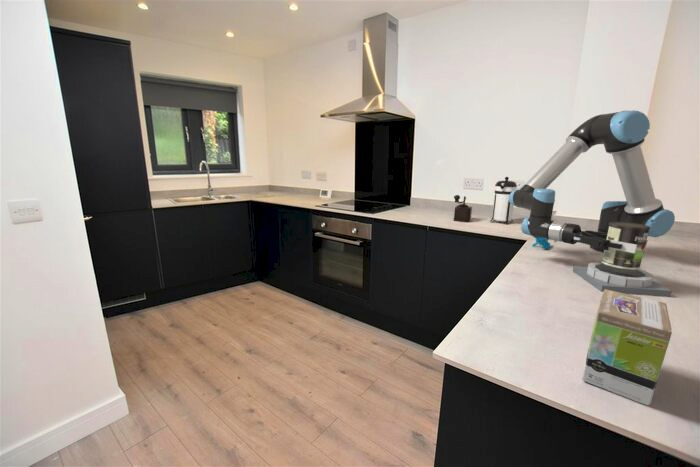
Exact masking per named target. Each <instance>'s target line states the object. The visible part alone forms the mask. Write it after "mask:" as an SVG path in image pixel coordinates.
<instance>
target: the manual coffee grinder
mask: <svg viewBox="0 0 700 467" xmlns="http://www.w3.org/2000/svg"><path fill="white" fill-rule="evenodd" d="M453 198H454V203H457V204H458V205H456V206H455V207H454V214H453V221H454V222H457V223H458V222H460V223H470V222H471V221H472V214H473V213H472V212H473V206H471V205H470V206H469V205H468V204H466V200H467V196H466V195H465V196H464V197H463V200H462V201H460V199H461V196H460V195H459V194H455V195H454V196H453Z"/></svg>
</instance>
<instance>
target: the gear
mask: <svg viewBox="0 0 700 467" xmlns="http://www.w3.org/2000/svg"><path fill="white" fill-rule="evenodd" d="M533 238H534V240H535V242H534V243H533V244H532V245H531V246H532V247H535V246H537V245H539V246H540V247H542V249H546V250H549V249H550V248H551V243H550V241H549V240H550V239H545V238H539V237H533Z"/></svg>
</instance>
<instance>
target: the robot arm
mask: <svg viewBox="0 0 700 467" xmlns="http://www.w3.org/2000/svg"><path fill="white" fill-rule="evenodd" d="M650 124H651V123H650V119H649V118H648V116H647V115H646V114H645V113H643V111H639V110H633V109H632V110H621V111H616V112H610V113H604V114H598V115H595V116H593V117H590V118H588V119H587V120H586V121H584V122H583V123H582V124H580V125H579V126H578V127H576V128H575V129H574V130H573V131H572V132H571V133H570V134H568V136H567V137H566V139H565V143H563V145H562V146H561V147H560V148H559V149H558V150H557V151H556V152H555V153H554V154H553V155H552V156H551V157H550V158H549V159H548V160H547V161H546V162H545V163H544V164H543V165H542V166H541V167H540V169H538V170H537V172H535V173H534V175H532V177H531V178H530V179H528V180H527V182H525V184H523V186H522V187H521V188H520V189H516V190H514V191H512V192H511V193H510V195H509V202H510V204H512V205H513V206H514V207H515V208H516V207H517V208H521V209H525V210H528V211H530V214H529V216H526V217H524V219H523V220H522V223H521V226H520V229H521V230H520V231H521V232H522V233H523V235H526V236H531V237H533V238H534V237H539V238H545V239H549V240H551V241H553V242H554V243H557V242H559V243H560V242H561V243H565V244H568V245H569V244H570V245H575V244H577V243H581V244H583V245H588V246H589V248H590V249H593V250H596V251H598V252H604V250H608V248H610V249H615V250H620V251H625V252H630V253H635V252H636V248H637V245H636V244H630V243H625V242H619V241H614V240H611V242H610V241H609V240H606V238H607V233H608V229H609V222H629V223H637V224H642V225H647V226H649V227H650V229H649V233H648V237H651V238H659V237H661V236H665V234H667V233H668V232H669V231H670V230H671V229H672V228H673V226H674V223H675V220H676V216H675V214H674V212H673V211H671V210H670V209H665V208H664V206H663V202H662V200H661V199H659V198H656V196H655V192H654V189H653V185H652V182H651V178H650V174H649V171H648V168H647V167H648V166H647V164H646V160H645V157H644V153H643V150H642V145H643V143H645V138H646V137H647V136H648V134H649V131H648V130H650V126H651V125H650ZM597 145H603V147H604V151H605V152H606V153H607V154H609V155H611V156H612V159H613V161H614V165H615V168H616V170H617V171H616V172H617V175H618V178H619V181H620V185H621V188H622V190H623V195H624V197H625V200H626V201H625V200H619V201H618V200H612V201H611V200H610V201H609V200H608V201H604V202H603V204H602V207H601V210H600V214H599V221H598V227H597V231H595V230H589V229H587V230H582V228H581V225H579V224H578V223H577V224H575V223H570V222H569V223H567V222H566V221H565V222H564V221H559V220H558V221H557V220H552V216H553V210H554V205H555V202H556V190H555V189H552V188H548V187H549V186H550V185H551V184H552V183H553V182H554V181H555V180H557V178H558V177H560V175H562V173H563V172H564V171H565V170H566V169H567V168H568V167H569V166H570V165H571V164H572V163H574V161H575V160H576V159H578V157H580V155H581V154H582V153H586V152H588V151H589V150H590V149H591V148H592V147H594V146H597ZM647 245H648V239H647V241H646V245H645V249H647Z"/></svg>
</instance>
